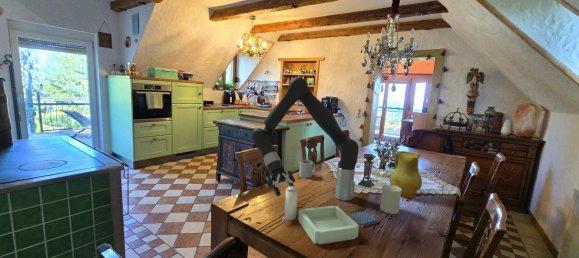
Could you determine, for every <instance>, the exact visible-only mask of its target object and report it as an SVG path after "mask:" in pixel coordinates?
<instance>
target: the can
mask: <svg viewBox="0 0 579 258" xmlns="http://www.w3.org/2000/svg"><path fill="white" fill-rule="evenodd" d="M381 188H382V189H381V198H380V206H379V209H380V210H381V211H382V212H385V213H387V214H392V215H393V214H394V215H395V214H399V212H400V203H401V198H402V196H401V191H402V189H401V188H399V187H397V186H394V185H390V184H383V185H382V186H381Z"/></svg>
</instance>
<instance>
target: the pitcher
mask: <svg viewBox="0 0 579 258" xmlns="http://www.w3.org/2000/svg"><path fill="white" fill-rule="evenodd" d="M420 156H421V154H420V153H417V152H412V151H405V150H398V151H396V152H395V157H394V159H395V160H394V165H395V167H394V168H395V169H394V170H393V171H392V173H391V174H390V178H389V179H390V180H389V185H394V186H397V187H399V188H401V189H402V191H401V198H406V199H413V198H415V197H416V195H415V194H416V193H417V191H419V190H421V188H422V186H423V185H422V184H423V180H422V177H421V174H420V173H419V171H420V170H419V159H420Z"/></svg>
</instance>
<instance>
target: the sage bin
mask: <svg viewBox="0 0 579 258" xmlns="http://www.w3.org/2000/svg"><path fill="white" fill-rule="evenodd" d="M298 223H299V224H300V226H301V227H302V228H303V230H304V231H305V233H306V234H307V236H308V237H309V238H310V239H311V241H312V243H313V244H316V245H317V244H318V245H324V244H326V245H327V244H331V243H337V242H344V241H350V240H356V238H358V237H359V228H360V226H359V225H360V224H357V223H356V222H354V221H353V220H352V219H351V218H350V217H349V216H348V214H347V213H346V212H345V211H343V209H341V208H340V207H339V206H337V205H336V206H335V205H328V206H318V207H311V208H310V207H309V208H301V209H300V210H298Z"/></svg>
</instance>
